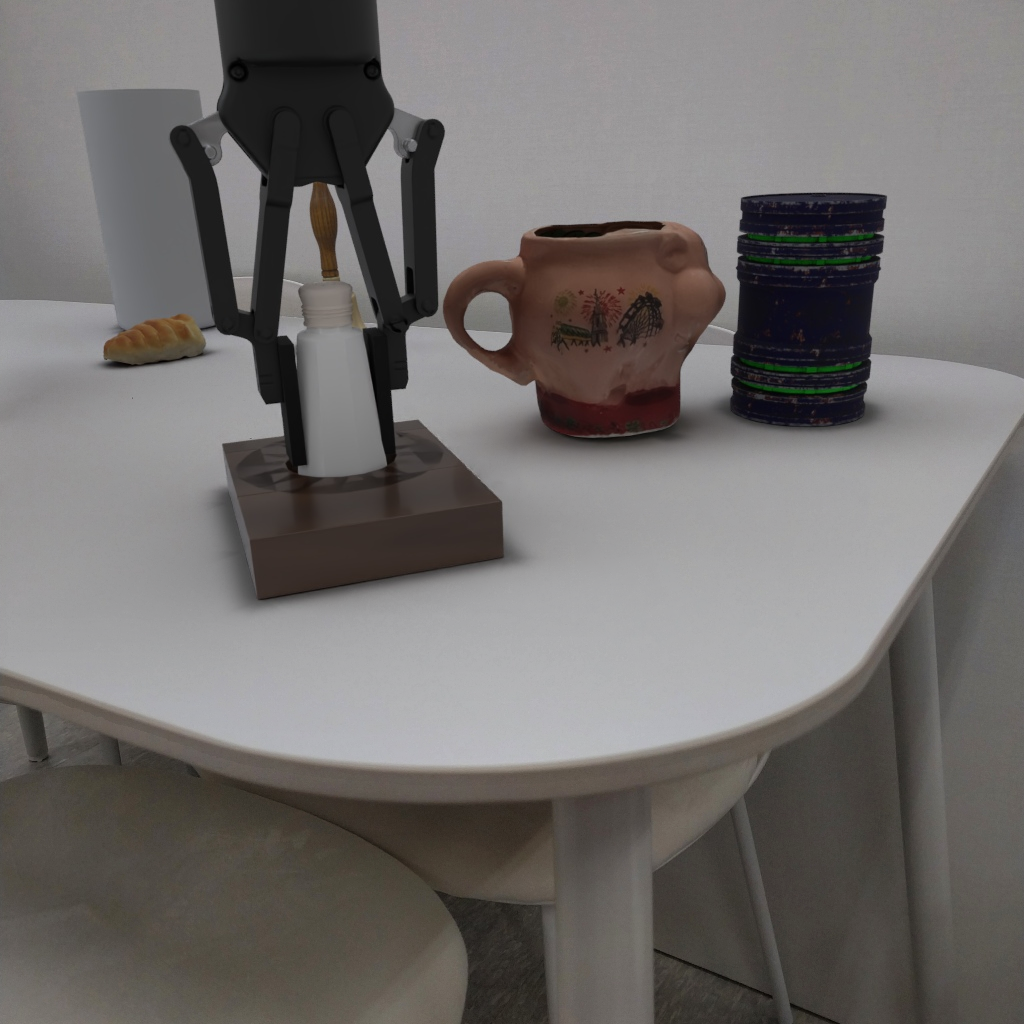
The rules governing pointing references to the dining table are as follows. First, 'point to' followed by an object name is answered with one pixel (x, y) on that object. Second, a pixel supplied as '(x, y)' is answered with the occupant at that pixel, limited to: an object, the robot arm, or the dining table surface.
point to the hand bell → (328, 239)
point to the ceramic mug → (597, 321)
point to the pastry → (156, 341)
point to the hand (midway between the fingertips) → (340, 452)
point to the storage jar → (805, 306)
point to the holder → (359, 515)
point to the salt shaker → (335, 386)
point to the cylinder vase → (145, 202)
